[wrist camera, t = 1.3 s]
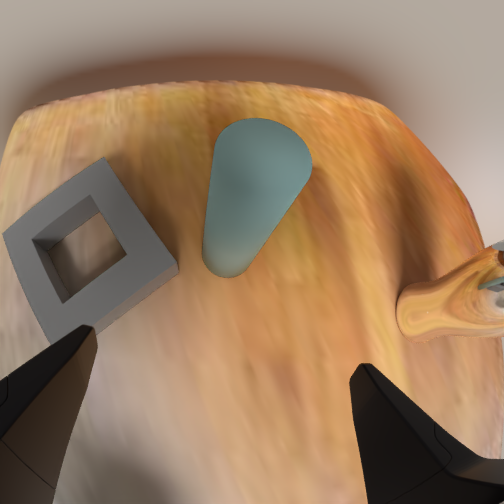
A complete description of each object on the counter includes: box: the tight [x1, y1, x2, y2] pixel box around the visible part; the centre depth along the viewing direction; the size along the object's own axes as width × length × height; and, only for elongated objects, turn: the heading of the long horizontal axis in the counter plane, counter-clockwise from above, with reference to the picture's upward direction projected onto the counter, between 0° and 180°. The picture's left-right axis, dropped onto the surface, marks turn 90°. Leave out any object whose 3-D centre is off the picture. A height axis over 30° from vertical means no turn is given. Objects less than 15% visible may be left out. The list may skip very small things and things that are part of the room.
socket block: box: [2, 157, 179, 345], centre depth 19 cm, size 11×11×3 cm
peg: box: [202, 118, 312, 278], centre depth 17 cm, size 4×4×13 cm
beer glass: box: [396, 240, 504, 343], centre depth 18 cm, size 7×7×15 cm
